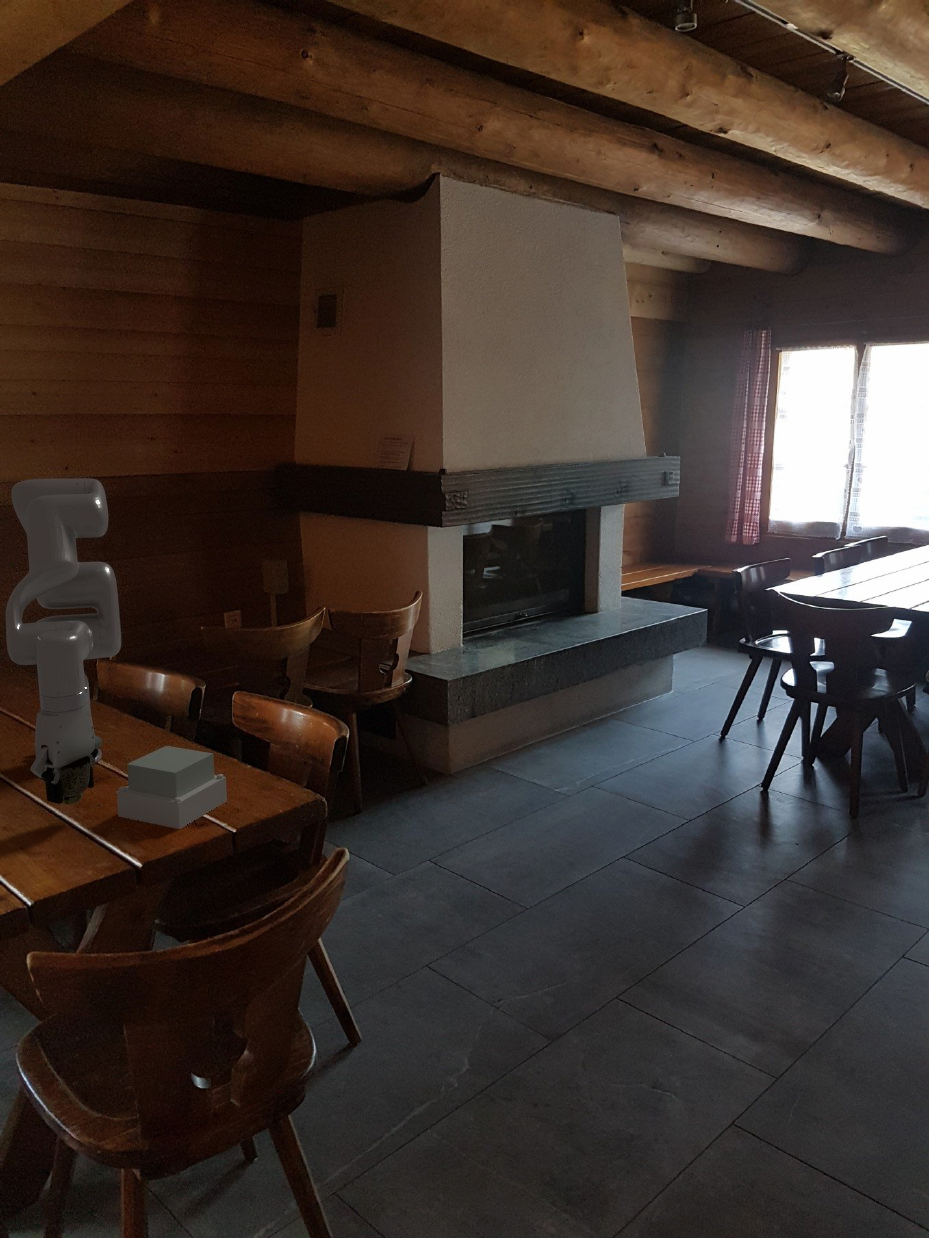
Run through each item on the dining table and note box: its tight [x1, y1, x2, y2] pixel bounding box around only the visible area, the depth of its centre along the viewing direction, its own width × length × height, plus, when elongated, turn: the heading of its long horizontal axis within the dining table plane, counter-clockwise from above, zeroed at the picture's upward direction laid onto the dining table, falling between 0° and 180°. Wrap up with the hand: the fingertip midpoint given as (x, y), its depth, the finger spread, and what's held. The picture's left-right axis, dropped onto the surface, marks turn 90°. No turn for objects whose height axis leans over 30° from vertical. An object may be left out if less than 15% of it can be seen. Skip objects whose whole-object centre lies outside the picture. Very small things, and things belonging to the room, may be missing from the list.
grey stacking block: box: [116, 745, 228, 830], centre depth 184 cm, size 14×14×10 cm
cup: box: [50, 756, 91, 805], centre depth 177 cm, size 8×7×8 cm
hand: (70, 793), depth 177 cm, fingers closed on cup, 6 cm apart
